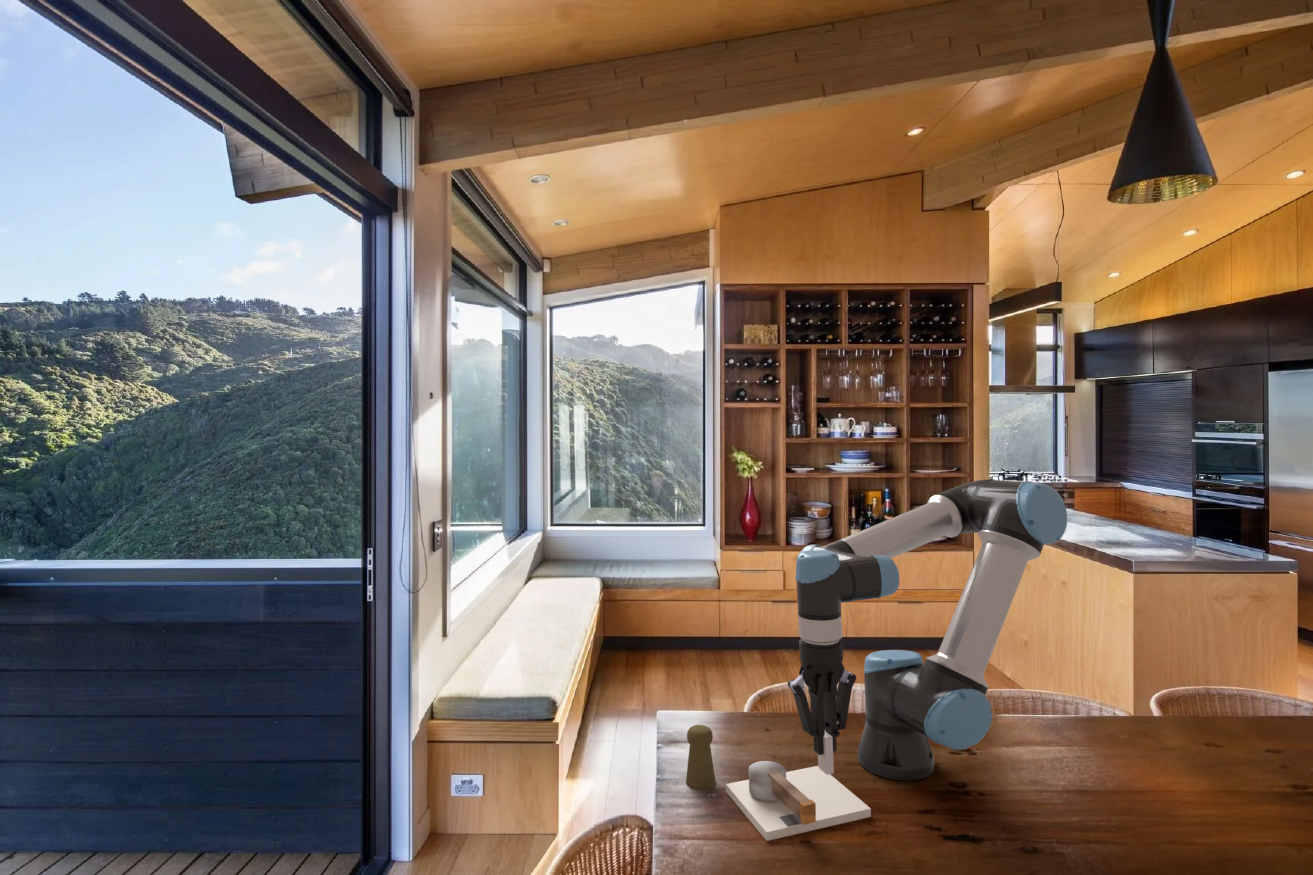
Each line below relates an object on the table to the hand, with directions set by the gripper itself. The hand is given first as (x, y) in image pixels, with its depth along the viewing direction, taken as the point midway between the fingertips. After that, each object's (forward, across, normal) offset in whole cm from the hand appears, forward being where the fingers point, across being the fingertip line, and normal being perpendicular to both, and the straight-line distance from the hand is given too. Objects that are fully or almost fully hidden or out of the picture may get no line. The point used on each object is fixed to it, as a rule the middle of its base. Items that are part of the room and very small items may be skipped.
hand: (826, 770), depth 119 cm
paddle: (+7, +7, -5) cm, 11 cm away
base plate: (+9, +2, -8) cm, 12 cm away
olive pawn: (+9, +16, -21) cm, 28 cm away
